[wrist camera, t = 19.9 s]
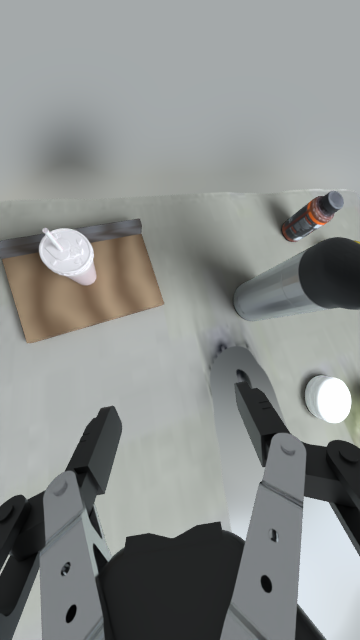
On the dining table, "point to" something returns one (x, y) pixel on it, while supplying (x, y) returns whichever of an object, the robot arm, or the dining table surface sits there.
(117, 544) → the dining table surface
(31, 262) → the tan serving tray
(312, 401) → the white round disc
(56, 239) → the smoothie
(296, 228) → the supplement bottle
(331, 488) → the robot arm
